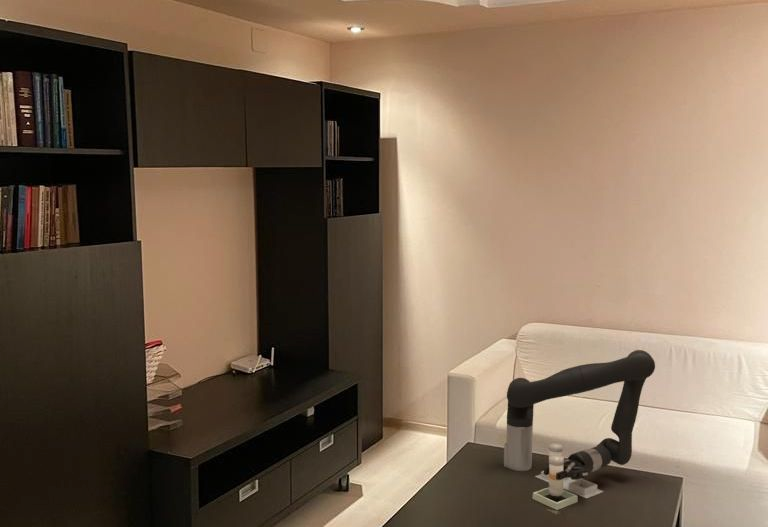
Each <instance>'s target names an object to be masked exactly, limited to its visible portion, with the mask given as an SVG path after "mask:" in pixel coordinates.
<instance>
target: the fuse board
mask: <svg viewBox="0 0 768 527" xmlns="http://www.w3.org/2000/svg"><path fill="white" fill-rule="evenodd" d="M534 477H535V478H538V479H540V480H542V481H545V482H547V483H549V474H548V475H544V470H542V471H540V474H538V475H535V476H534ZM563 490H565V491H568V492H570V493H572V494H575V495H577V496H579V497H582V498H585V499H588V498H591V497H594V496H596V495H599V494H601V493H604V490H601V489H599V488H598V484H596V483H594V482H592V481H590V480H589V481H588V480H586V479H585V478H581V479H575V480H572V479H571V478H564V479H563Z"/></svg>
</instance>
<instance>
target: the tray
mask: <svg viewBox="0 0 768 527" xmlns="http://www.w3.org/2000/svg"><path fill="white" fill-rule="evenodd" d="M548 495H550V494H549V486H548V487H546V488H541V489H540V490H537V491H534V492H532V500H534V501H536V502H539V503H540V504H543V505H545V506H548V508H544V507H543V510H546V511H549V512H550V513H553V514H555V515H559V514H561V513H562V511H558V510H560V509H563V508H565V507H568V506H571V505H573V504H576V503H578V497H579V495H577V494H575V493H573V492H570V491H568V490H565V489H563V495H562V496H561V497H562V498H564V499H562V500H559V501H555V500H552V499H550V498H548V497H546V496H548ZM550 508H552V509H550Z"/></svg>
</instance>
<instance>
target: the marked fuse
mask: <svg viewBox="0 0 768 527" xmlns="http://www.w3.org/2000/svg"><path fill="white" fill-rule="evenodd" d="M564 460H565V457H564V456H563V455H562V456H561V455H550V456H549V455H548V462H549V482H548V487H549V494H548V495H550V496H554V497H562V495H563V490H564V489H563V479H561V480H556V473H558V472H561V471H563V464H564Z"/></svg>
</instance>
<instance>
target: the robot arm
mask: <svg viewBox="0 0 768 527" xmlns="http://www.w3.org/2000/svg"><path fill="white" fill-rule="evenodd" d="M655 370H656V362H655V360H654V358H653V357H652V355H651V354H650V353H649V352H647V351H645V350H643V349H638V350H637V349H635V350H632V352H630V353H629V354H628V355H627V356H626V357H622V358H619V359H616V360H612V361H606V362H596V363H594V362H593V363H586V364H580V365H575V366H571V367H568V368H565V369H562V370H560V371H558V372H556V373H554V374H551V375H550V376H548V377H545V378H542V379H540V380H538V379H537V380H534V381H530V380H528V379H527V378H526V377H525V378H524V377H517V378H515V379H513V380H512V381H510V383H509V385H508V386H507V392H506V398H507V409H506V410H507V412H506V434H505V435H506V438H505V439H506V440H505V443H504V446H503V447H504V448H503V467H505V468H508V469H509V470H512V471H517V472H526V471H529V470H531V469H532V468H533V464H532V463H533V462H532V461H533V460H532V459H533V426H534V406H535V405H536V404H538V403H542V402H544V401H548V400H552V399H557V398H562V397H569V396H572V395H578V394H582V393H585V392H590V391H593V390H596V389H600V388H601V389H602V388H604V387H608V386H610V385H613V384H617V383H622V382H623V384H622V385H623V386H622V389H621V392H620V397H619V400H618V403H617V404H616V409H615V412H614V416H613V419H612V423H611V426H610V430H611V431H612V433H613V434H615V436H617V438H618V440H616V439H614V438H610V437H607V438H603V440H601V441H600V442H599V443H598V444H597V445H595V446H593V447H591V448H587V449H586V448H585V449H583V450H579V451H576V452H573V453H572V454H570V455H569V456H568V458H566V459H564V464H563V471H561V472H558V473H556V480H561V479H564V478H571V479H572V480H578V479H581V478H582V479H585V478H588V475H589V474H591V473H593V472H595V471H598V470H599V469H602V468H605V467H607V466H608V465H610V463H611V462H613V463H616V464H618V465H620V466H624V465H626V464H628V463H629V461H630V460H631V458H632V454H633V443H632V442H633V429H634V428H635V424H636V420H637V415H638V412H639V411H638V410H639V404H640V399H641V395H642V391H643V387H644V385H645V382H646V380H647V379H648V378H650V376H653V375H652V374H653V373H654V372H655ZM543 471H544V475H548V474H549V461H548V462H547V467H544V468H543Z"/></svg>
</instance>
